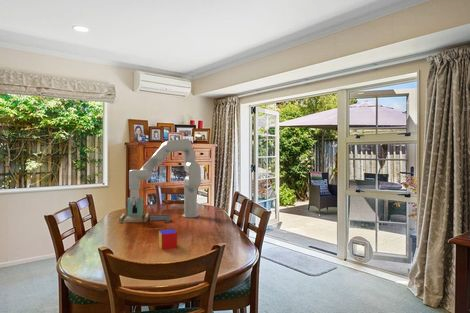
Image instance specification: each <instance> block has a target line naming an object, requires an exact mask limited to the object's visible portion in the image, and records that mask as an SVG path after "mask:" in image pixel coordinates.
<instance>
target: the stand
mask: <svg viewBox="0 0 470 313" xmlns="http://www.w3.org/2000/svg"><path fill="white" fill-rule="evenodd" d="M149 221H150V222H151V221H152V222H153V221H154V222H155V221H157V222H158V221H163V223H171V214H151V215H149Z"/></svg>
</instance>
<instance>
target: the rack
mask: <svg viewBox="0 0 470 313" xmlns="http://www.w3.org/2000/svg"><path fill="white" fill-rule="evenodd" d="M149 214H150V213H149V212H146V214H145V213H144V214H143V221H142V222H141V223H146V222H148V219H149V218H150V215H149ZM127 216H128V215H127V214H126V213H122V215H121V216H120V217H118V222H119V223H121V224H123V223H127V224H128V222H124V219H126V217H127Z"/></svg>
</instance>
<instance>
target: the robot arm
mask: <svg viewBox="0 0 470 313" xmlns="http://www.w3.org/2000/svg"><path fill="white" fill-rule="evenodd" d="M176 152H182V153H183V158H184V159H183V160H184V162H183V163H184V165H183V166H184V171H185V172H186V173H187V174H188V175H186V176H185V177H184V178H183V190H184V194H183V197H184V199H183V200H184V201H183V202H184V203H183V204H184V206H183V209H184V211H183V214H182V215H181V216H182V218H189V219H191V218H198V217H199V213H198V212H197V211H198V205H197V204H198V202H197V201H198V199H197V198H198V192H197V191H198V190H197V189H198V188H199V187H201V184H202V173H201V172H202V169H201V165H200V164H199V163H198V162H197V160H196V153H195V150H194V147H193V146H192V141H191V140H190V139H188V138H180V139H173V140H165V141H164V142H163V143H162V144H161V145H160V147H159V148H158V149H157V150H156V151H155V152H154V154H153V155H152V156H151V157H150V158H149V159H148V160H146V162H145V163H144V164H143V166H142V167H141V168H140V169H130V170H129V171H128V189H129V191H130V192H129V198H130V204H131V203H132V205H133V208H132V213H137V203H138V198H140V195H139V194H140V193H139V192H140V191H139V190H140V189H141V180H144V181H146V180H150V179H151V178H152V176H153V174H152V173H153V171H154V169H155V168H157V167H158V166H160V165H162V163H164V162H165V160H167V158H168V156H169V155H171V153H176ZM135 202H136V203H135Z"/></svg>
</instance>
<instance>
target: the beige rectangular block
mask: <svg viewBox="0 0 470 313" xmlns="http://www.w3.org/2000/svg"><path fill="white" fill-rule="evenodd" d="M142 221H143V218H142V216H127V217H126V219H124V222H127V223H143V222H142Z"/></svg>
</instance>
